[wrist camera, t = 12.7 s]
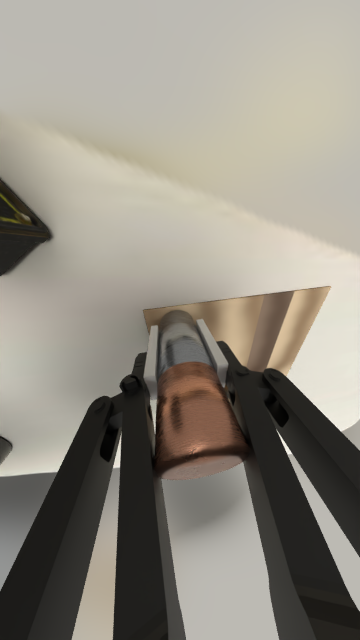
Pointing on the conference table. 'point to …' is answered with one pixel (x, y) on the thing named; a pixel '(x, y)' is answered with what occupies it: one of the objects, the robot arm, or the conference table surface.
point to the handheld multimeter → (17, 228)
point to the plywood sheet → (256, 325)
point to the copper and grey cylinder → (192, 407)
